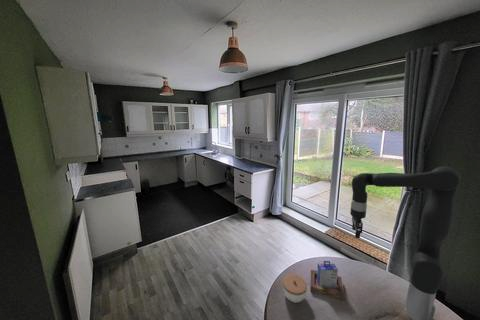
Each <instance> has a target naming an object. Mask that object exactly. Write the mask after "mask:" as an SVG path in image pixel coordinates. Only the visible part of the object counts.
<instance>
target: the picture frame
mask: <svg viewBox="0 0 480 320" xmlns="http://www.w3.org/2000/svg"><path fill="white" fill-rule="evenodd" d="M309 288H310V290H309V291H310V292H312V293H314V294H318V295H321V296H324V297H325V296H326V297H329V298H333V299H335V300H339V301H343V302H345V290H344V284H343V279H342V276H340V275H337V286H336V288H326V287H322V286H318V283H317V270H313V269H311V270H310V287H309Z"/></svg>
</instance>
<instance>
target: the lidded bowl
mask: <svg viewBox="0 0 480 320" xmlns="http://www.w3.org/2000/svg"><path fill="white" fill-rule="evenodd" d="M307 286H308V285H307V282H306V281H305V279H304V278H303V277H302V276H300V275H298V274H293V273H290V274H286V275H285V276H284V277H283V279H282V289H283V290H282V292H283V293H284V295H285V298H287V300H289V301H290V302H291V303H293V302H294V303H293V304H298V303H301V302H302V301H304V300H305V297H306V294H307V288H308V287H307Z"/></svg>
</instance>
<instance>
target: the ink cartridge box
mask: <svg viewBox="0 0 480 320" xmlns="http://www.w3.org/2000/svg"><path fill="white" fill-rule="evenodd" d="M316 271H317V283H318V286H322V287H326V288H336V286H337V276H339V275H338V273H339V269H338V268H337V266H336V264H335V263H331V261H330V260H324V261H323V263H317V270H316Z"/></svg>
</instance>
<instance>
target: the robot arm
mask: <svg viewBox="0 0 480 320" xmlns="http://www.w3.org/2000/svg"><path fill="white" fill-rule="evenodd" d="M460 173H461V172H459V171H458V170H457V169H456V168H454V167H451V166H446V165H443V166H439V167H438V166H437V167H436V168H434V169H432V170H431V171H426V172H419V173H418V172H417V173H402V172H401V173H400V172H381V173H380V172H378V173H372V172H365V173H364V172H362V173H359V174H357V175H355V176H353V178H352V180H351V188H352V189H351V190H352V197H351V202H350V216H351V222H352V226H351V227H352V231H355V235H354V237H355V239H360V238H361V234H362V233H363V227H364V226H363V225H364V224H363V220H362V219H365V218H366V214H367V207H368V202H367V201H368V192H367V190H366V189H367V188H366V187H367V186H375V187H377V188H378V187H379V188H419V189H428V190H429V196H428V198H427V200H426V202H425V205H424V207H423V209H422V213H421V218H420V224H419V235H418V236H419V238H418V243H417V246H416V250H415V251H414V254H413V259H412V261H413V268H412V274H411V275H410V279H409V283H408V289H407V293H406V299H405V304H404V312H405V314H406V315H407V316H408V317H409V318H410V319H411V320H434V316H435V312H436V306H435V301H436V295H437V292H438V291H439V288H440V285H441V282H442V280H443V279H442V278H443V268H442V266H441V262H440V255H441V247H442V245H443V243H444V242H445V241H446V239H447V238H448V236H449V234H450V229H451V227H452V226H451V225H452V220H453V218H452V217H453V208H454V207H453V206H454V205H453V203H454V198H455V194H456V192H457V189H458V186H459V185H460V183H461V180H462V175H461V174H460Z"/></svg>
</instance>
